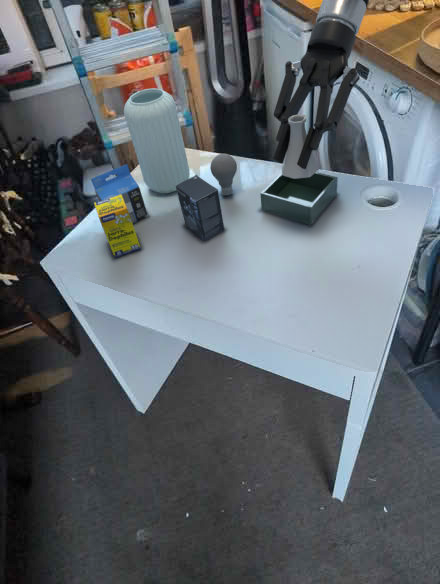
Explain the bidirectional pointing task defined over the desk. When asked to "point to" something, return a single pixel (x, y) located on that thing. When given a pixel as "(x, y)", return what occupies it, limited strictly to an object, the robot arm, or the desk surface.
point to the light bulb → (224, 171)
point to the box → (200, 207)
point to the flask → (298, 150)
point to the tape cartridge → (121, 191)
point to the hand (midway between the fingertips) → (289, 163)
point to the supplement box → (117, 225)
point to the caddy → (299, 196)
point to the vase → (157, 139)
